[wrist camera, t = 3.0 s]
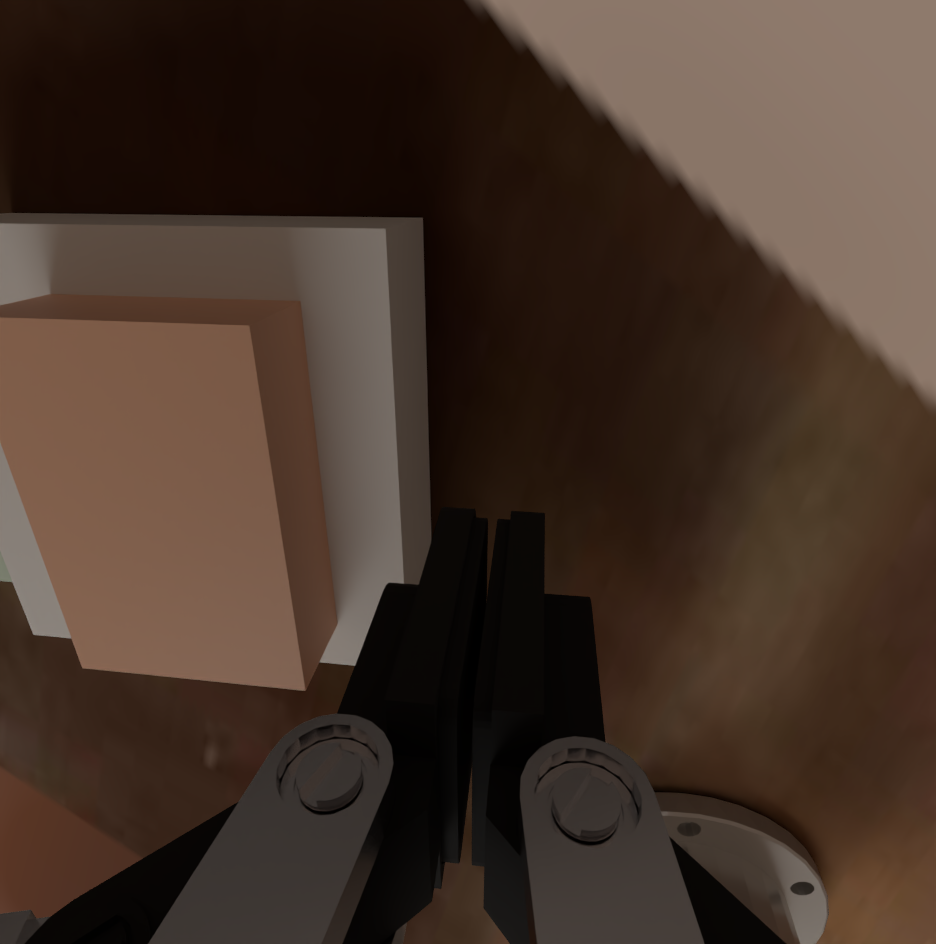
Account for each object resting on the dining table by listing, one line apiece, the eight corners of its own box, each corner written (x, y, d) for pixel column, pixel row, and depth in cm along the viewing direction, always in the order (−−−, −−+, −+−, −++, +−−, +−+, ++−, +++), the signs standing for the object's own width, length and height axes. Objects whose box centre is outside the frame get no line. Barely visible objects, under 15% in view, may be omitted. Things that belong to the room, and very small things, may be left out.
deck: (432, 587, 21) (408, 670, 18) (115, 562, 23) (33, 634, 19) (422, 217, 16) (385, 228, 12) (10, 213, 17) (-131, 222, 14)
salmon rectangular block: (337, 624, 17) (305, 690, 15) (141, 606, 18) (82, 668, 16) (300, 300, 13) (249, 325, 11) (50, 294, 14) (-47, 315, 12)
